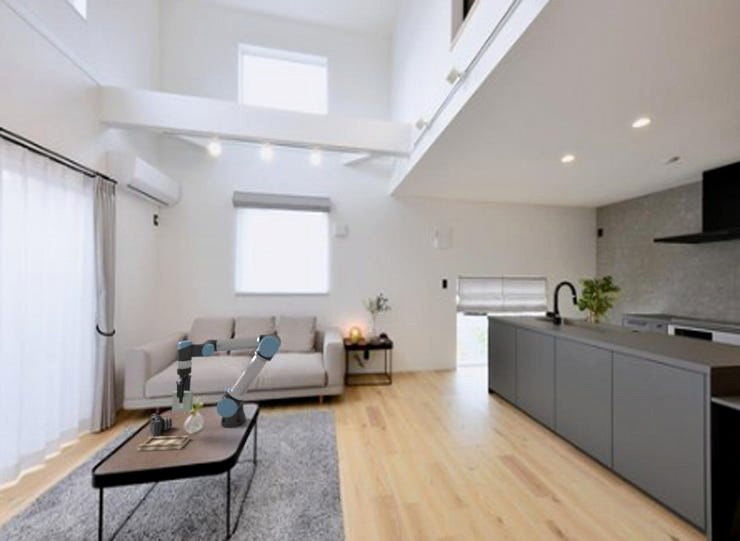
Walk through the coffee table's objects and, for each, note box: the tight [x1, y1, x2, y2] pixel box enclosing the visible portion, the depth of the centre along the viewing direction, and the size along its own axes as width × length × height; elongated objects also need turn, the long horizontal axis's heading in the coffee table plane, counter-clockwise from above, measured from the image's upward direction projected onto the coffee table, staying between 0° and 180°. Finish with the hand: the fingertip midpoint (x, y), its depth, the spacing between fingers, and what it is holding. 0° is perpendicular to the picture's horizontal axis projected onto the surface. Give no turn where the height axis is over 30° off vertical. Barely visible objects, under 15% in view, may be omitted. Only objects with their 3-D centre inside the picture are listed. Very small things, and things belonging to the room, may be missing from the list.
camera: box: [149, 413, 173, 437], centre depth 200 cm, size 14×11×10 cm
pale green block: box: [171, 390, 194, 412], centre depth 196 cm, size 10×4×11 cm, turn 94°
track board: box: [136, 435, 191, 452], centre depth 184 cm, size 22×12×2 cm, turn 95°
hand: (183, 406), depth 195 cm, fingers closed on pale green block, 3 cm apart
